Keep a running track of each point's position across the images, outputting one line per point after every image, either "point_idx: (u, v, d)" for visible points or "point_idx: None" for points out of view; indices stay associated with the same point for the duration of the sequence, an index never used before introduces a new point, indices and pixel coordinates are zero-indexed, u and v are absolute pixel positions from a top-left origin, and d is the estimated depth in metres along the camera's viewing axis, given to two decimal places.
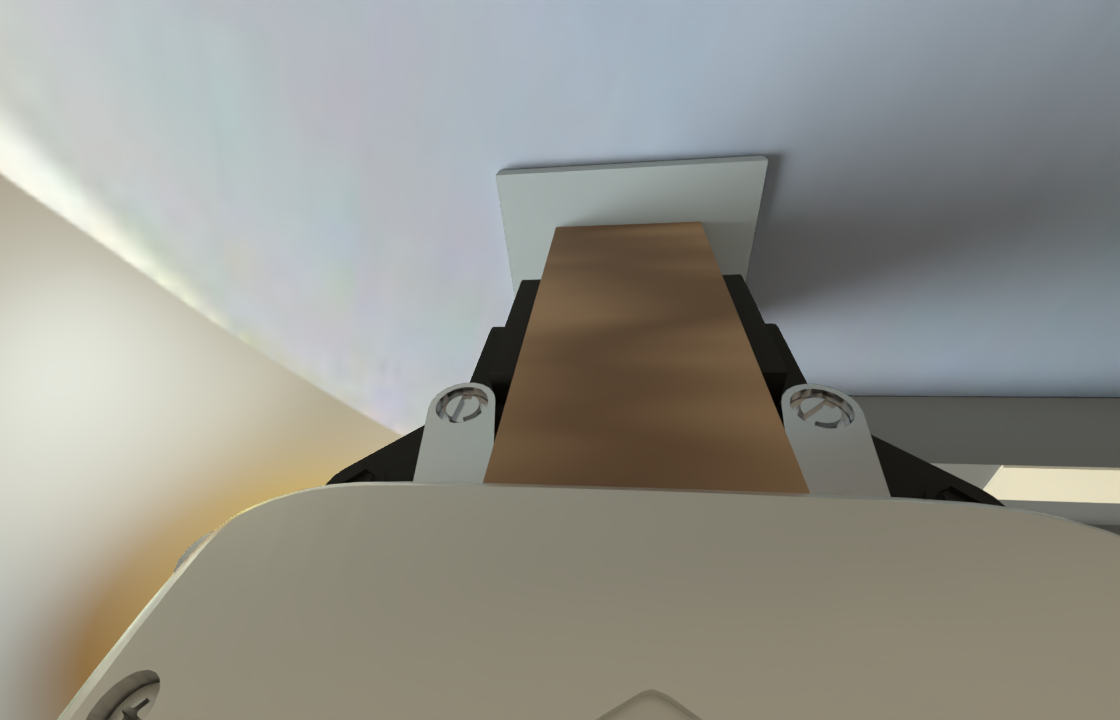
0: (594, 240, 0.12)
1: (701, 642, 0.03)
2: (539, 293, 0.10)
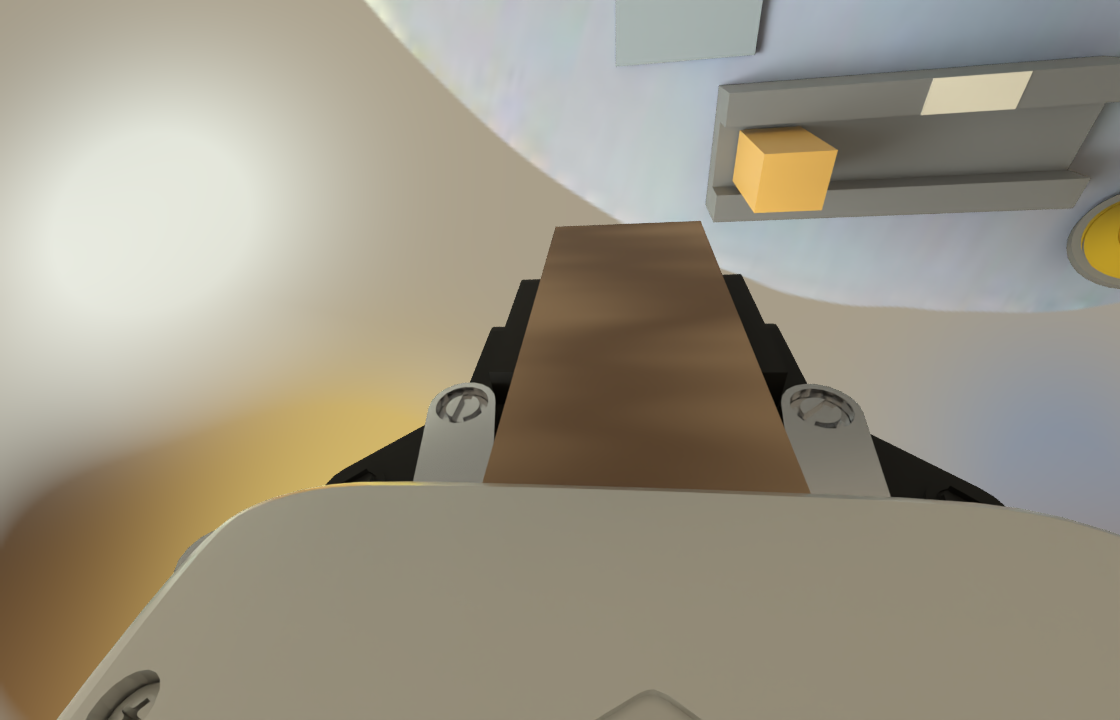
0: (594, 240, 0.12)
1: (701, 642, 0.03)
2: (539, 293, 0.10)
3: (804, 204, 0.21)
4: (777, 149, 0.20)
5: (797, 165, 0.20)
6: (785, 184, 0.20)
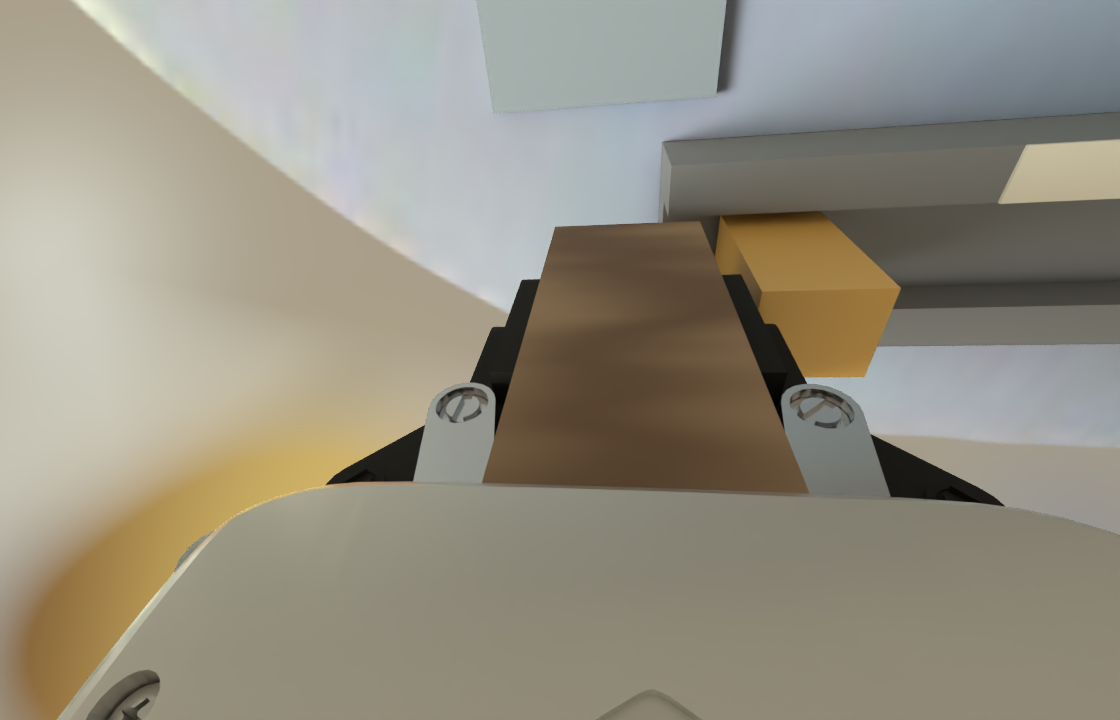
0: (593, 240, 0.12)
1: (701, 642, 0.03)
2: (538, 293, 0.10)
3: (834, 368, 0.12)
4: (785, 276, 0.11)
5: (823, 310, 0.11)
6: (800, 338, 0.11)
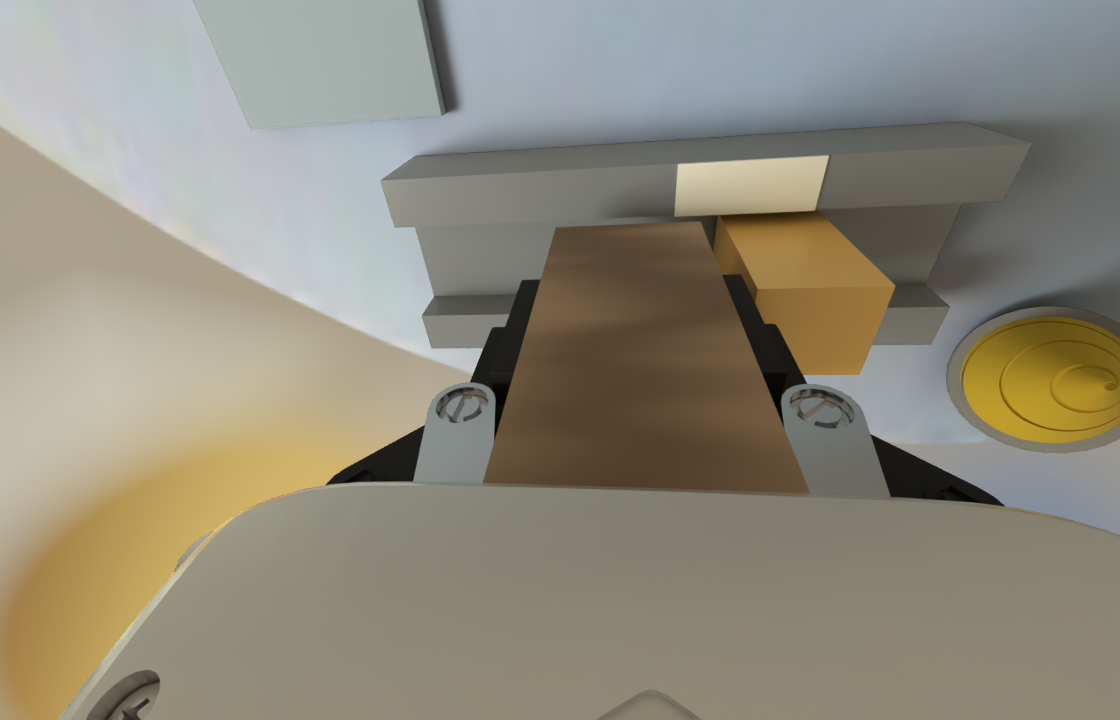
0: (594, 240, 0.12)
1: (701, 642, 0.03)
2: (539, 293, 0.10)
3: (829, 366, 0.12)
4: (781, 274, 0.11)
5: (819, 307, 0.11)
6: (796, 336, 0.11)
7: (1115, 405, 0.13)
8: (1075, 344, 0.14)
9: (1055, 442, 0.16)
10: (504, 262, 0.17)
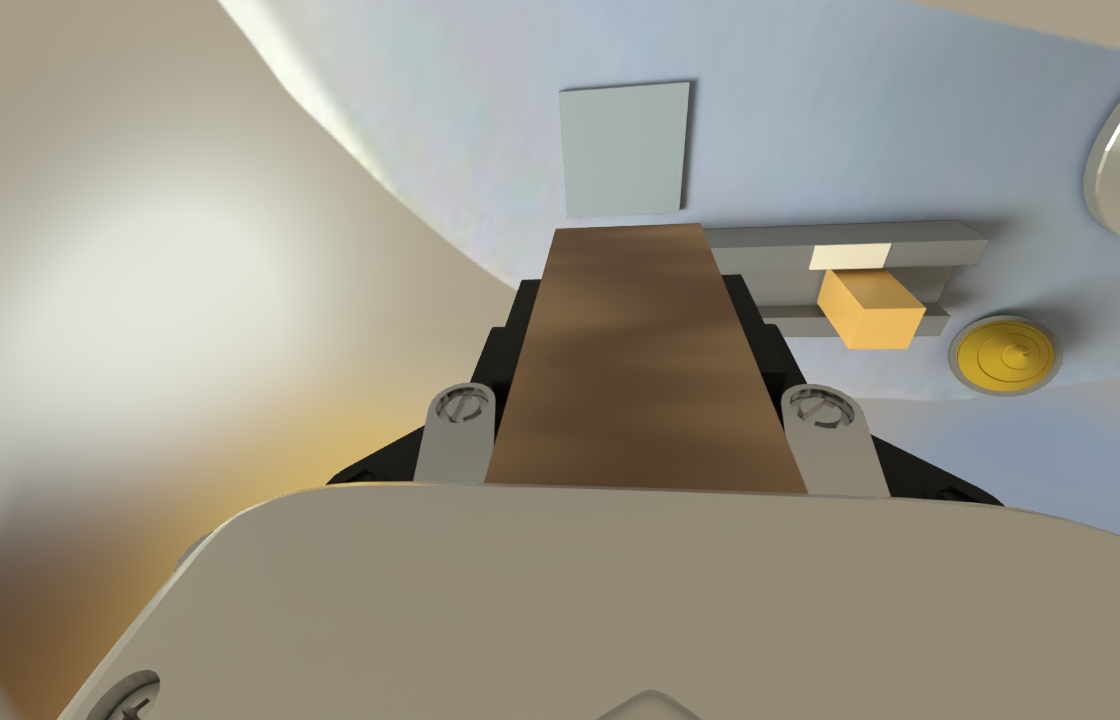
0: (594, 242, 0.12)
1: (702, 642, 0.03)
2: (539, 295, 0.10)
3: (893, 344, 0.25)
4: (872, 302, 0.24)
5: (891, 317, 0.24)
6: (878, 330, 0.24)
7: (1033, 366, 0.26)
8: (1014, 335, 0.27)
9: (1008, 390, 0.29)
10: None
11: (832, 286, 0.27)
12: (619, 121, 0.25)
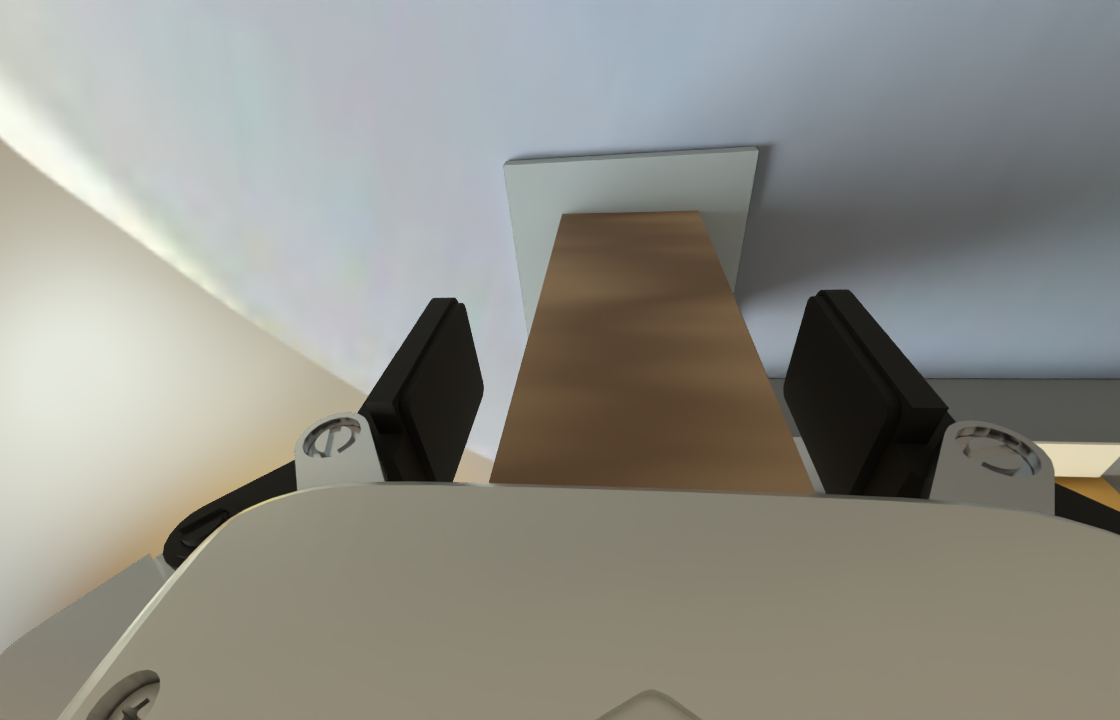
0: (598, 226, 0.13)
1: (701, 642, 0.03)
2: (548, 271, 0.11)
3: None
4: None
5: None
6: None
7: None
8: None
9: None
10: None
11: None
12: None
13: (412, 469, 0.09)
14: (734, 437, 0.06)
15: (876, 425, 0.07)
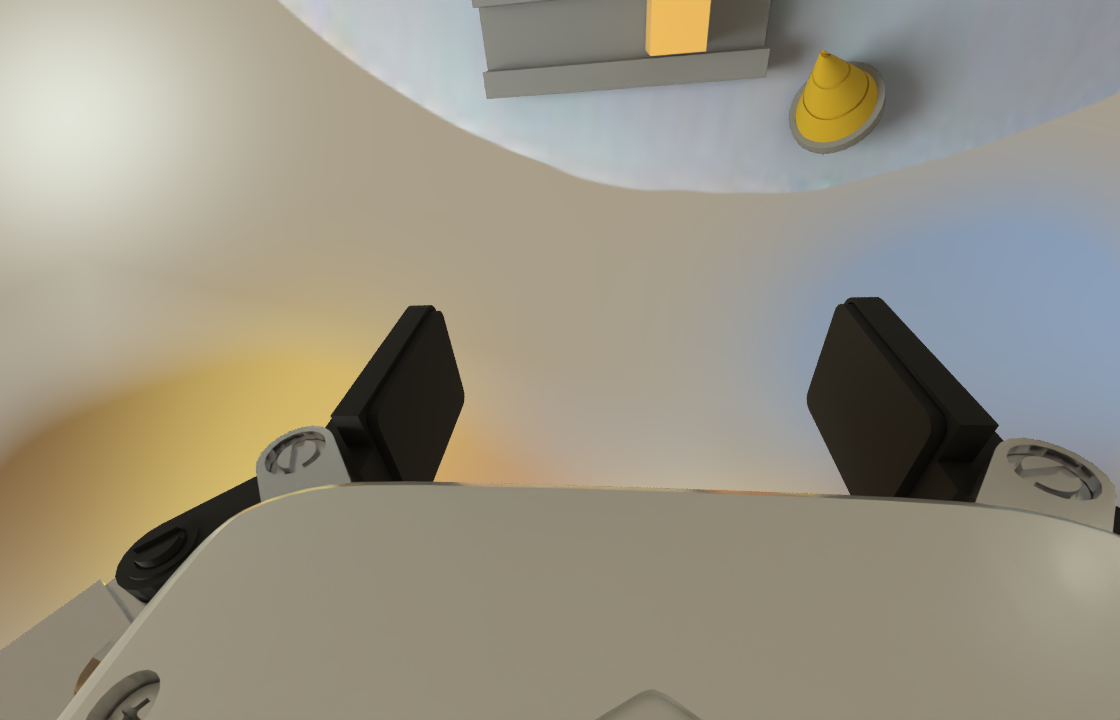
0: None
1: (701, 642, 0.03)
2: None
3: (691, 46, 0.25)
4: None
5: (680, 6, 0.24)
6: (672, 26, 0.24)
7: (843, 84, 0.26)
8: None
9: (838, 138, 0.29)
10: (530, 42, 0.30)
11: (647, 13, 0.27)
12: None
13: None
14: None
15: (918, 441, 0.07)
